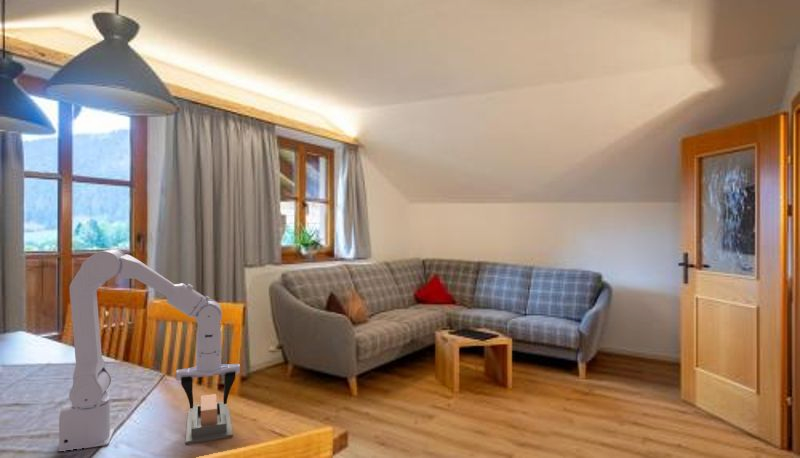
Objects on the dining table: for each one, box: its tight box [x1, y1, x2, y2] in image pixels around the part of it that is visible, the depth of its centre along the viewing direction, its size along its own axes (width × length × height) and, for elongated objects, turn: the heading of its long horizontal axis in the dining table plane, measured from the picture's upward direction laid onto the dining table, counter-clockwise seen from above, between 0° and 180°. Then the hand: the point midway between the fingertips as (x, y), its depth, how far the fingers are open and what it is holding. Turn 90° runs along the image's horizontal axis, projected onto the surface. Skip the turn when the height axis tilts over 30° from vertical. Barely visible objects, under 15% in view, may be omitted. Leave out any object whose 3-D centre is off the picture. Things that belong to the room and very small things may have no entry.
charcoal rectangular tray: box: [185, 400, 233, 445], centre depth 117 cm, size 10×18×3 cm, turn 23°
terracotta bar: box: [200, 393, 218, 425], centre depth 117 cm, size 4×10×5 cm, turn 23°
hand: (208, 404), depth 117 cm, fingers open, 7 cm apart
